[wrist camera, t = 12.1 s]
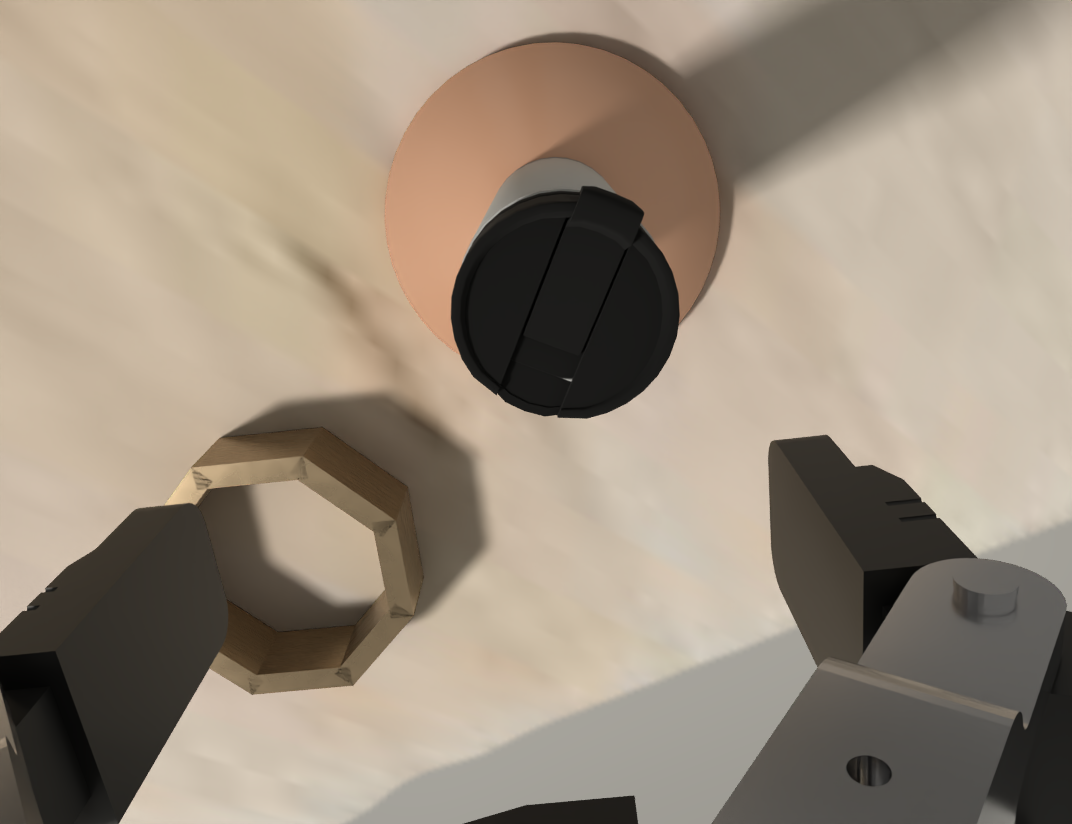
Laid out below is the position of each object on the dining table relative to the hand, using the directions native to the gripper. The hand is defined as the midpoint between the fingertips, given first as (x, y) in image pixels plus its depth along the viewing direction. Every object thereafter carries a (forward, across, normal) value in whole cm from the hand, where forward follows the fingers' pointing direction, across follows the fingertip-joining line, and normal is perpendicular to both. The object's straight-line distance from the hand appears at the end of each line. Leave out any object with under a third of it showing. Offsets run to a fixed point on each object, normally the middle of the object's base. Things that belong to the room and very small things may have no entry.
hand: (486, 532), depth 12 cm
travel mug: (+32, -2, 0) cm, 32 cm away
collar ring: (+32, +15, +16) cm, 39 cm away
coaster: (+32, -1, 0) cm, 32 cm away
